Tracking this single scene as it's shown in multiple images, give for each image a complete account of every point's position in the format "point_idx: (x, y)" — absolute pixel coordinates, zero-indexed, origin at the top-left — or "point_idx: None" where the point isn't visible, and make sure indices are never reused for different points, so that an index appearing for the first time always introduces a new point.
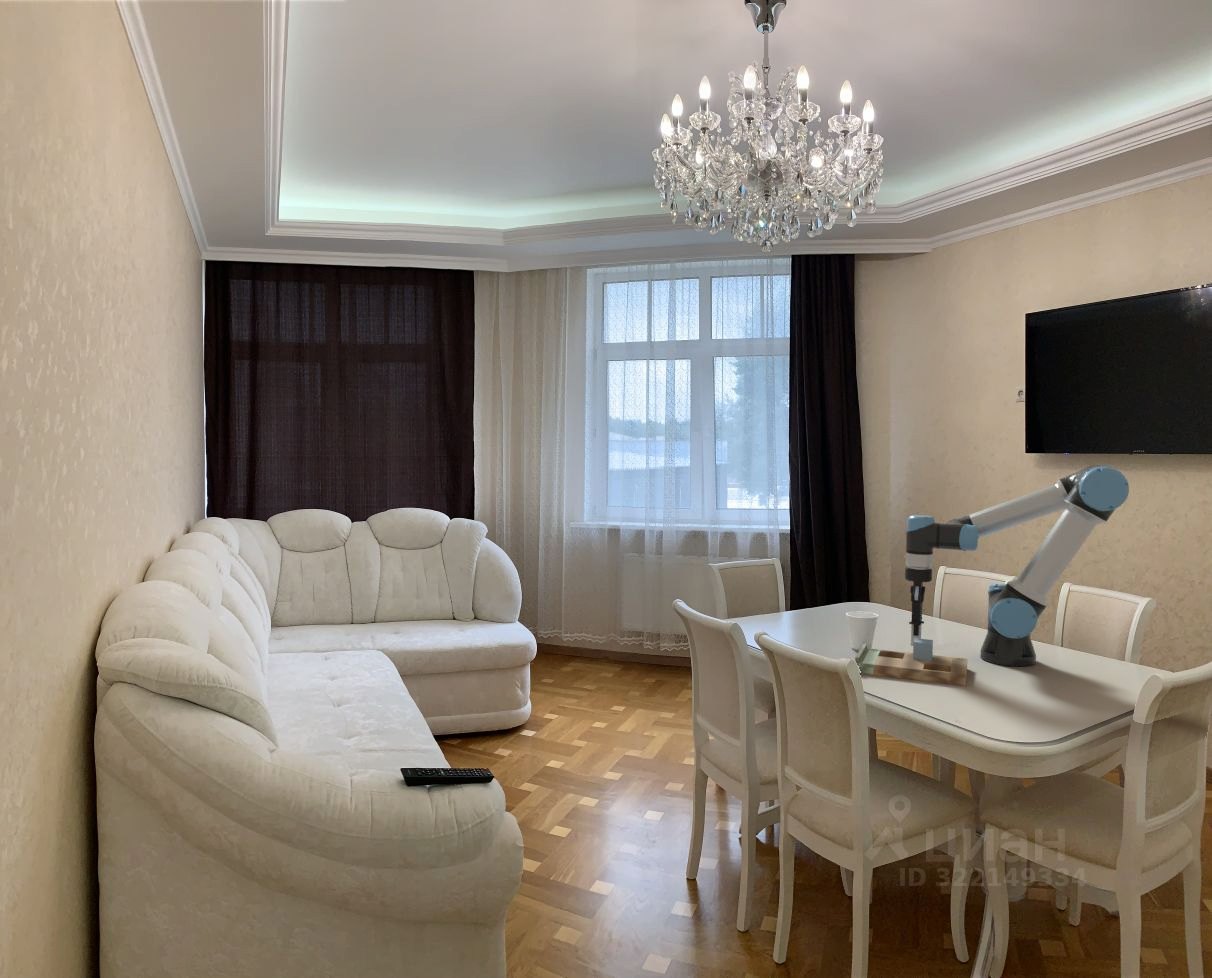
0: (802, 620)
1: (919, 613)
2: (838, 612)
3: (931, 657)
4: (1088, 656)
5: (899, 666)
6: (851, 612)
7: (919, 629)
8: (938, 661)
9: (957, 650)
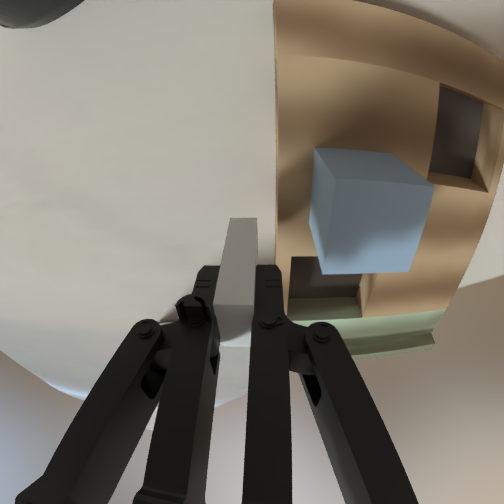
0: (72, 383)
1: (374, 409)
2: (2, 343)
3: (399, 159)
4: None
5: (466, 255)
6: (146, 426)
7: (255, 288)
8: (390, 124)
9: (19, 109)
